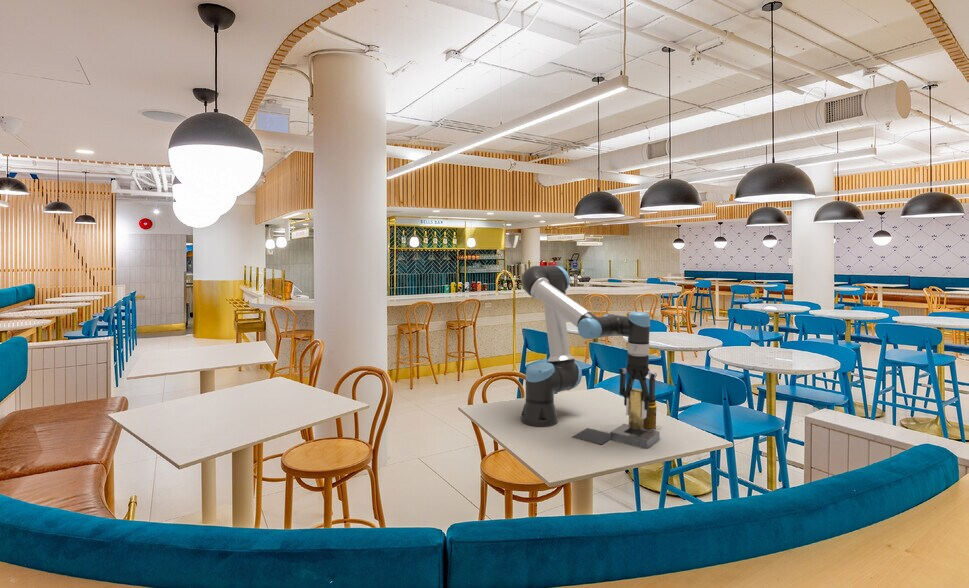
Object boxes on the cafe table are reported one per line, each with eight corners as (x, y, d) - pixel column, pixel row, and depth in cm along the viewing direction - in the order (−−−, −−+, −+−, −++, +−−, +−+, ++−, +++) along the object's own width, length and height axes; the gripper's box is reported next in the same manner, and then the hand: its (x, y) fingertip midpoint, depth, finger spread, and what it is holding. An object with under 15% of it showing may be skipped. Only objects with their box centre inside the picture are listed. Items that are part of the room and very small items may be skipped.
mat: (572, 437, 187) (572, 436, 187) (587, 428, 196) (587, 427, 196) (601, 445, 179) (601, 444, 179) (616, 435, 188) (616, 434, 188)
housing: (610, 439, 185) (610, 431, 184) (623, 431, 194) (623, 423, 194) (647, 449, 176) (647, 440, 175) (659, 439, 185) (659, 431, 185)
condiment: (660, 428, 198) (661, 398, 197) (646, 432, 193) (647, 401, 192) (645, 422, 204) (646, 394, 203) (631, 426, 199) (632, 397, 198)
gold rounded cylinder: (626, 427, 184) (627, 390, 183) (631, 424, 188) (633, 387, 187) (639, 430, 181) (641, 393, 180) (645, 427, 185) (646, 390, 184)
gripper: (610, 352, 185) (608, 413, 187) (659, 359, 173) (656, 424, 175) (619, 349, 191) (617, 408, 193) (666, 356, 179) (664, 418, 181)
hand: (636, 416), depth 184 cm, fingers closed on gold rounded cylinder, 5 cm apart
